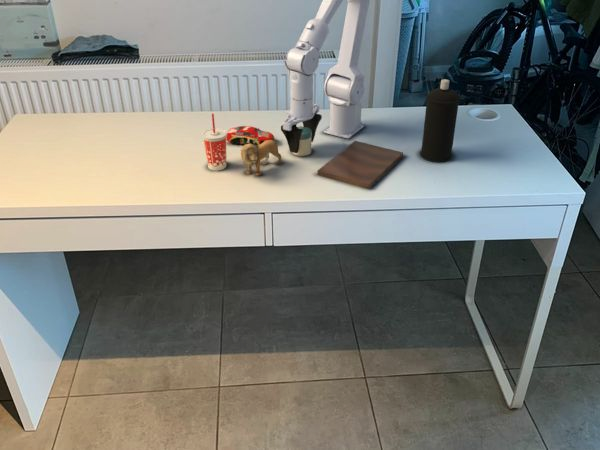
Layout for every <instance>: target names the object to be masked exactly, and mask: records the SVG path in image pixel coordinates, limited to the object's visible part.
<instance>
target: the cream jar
mask: <svg viewBox="0 0 600 450" xmlns="http://www.w3.org/2000/svg"><path fill="white" fill-rule="evenodd" d="M297 127H298V128H299V129H303V132H302V134H301V137H300V142H299V150H298V152H297V153H294V152H292V154H293V155H295V156H298V157H305V156H309V155H310V154H312V142H311V136H312V130H311V129H310V128H307V127H303V126H297Z"/></svg>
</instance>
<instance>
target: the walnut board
mask: <svg viewBox="0 0 600 450" xmlns="http://www.w3.org/2000/svg"><path fill="white" fill-rule="evenodd" d="M403 157H404V152H403V151H399V150H395V149H391V148H388V147H387V148H386V147H382V146H379V145H374V144H371V143H367V142H362V141H359V140H358V141H357V140H354V141H353V142H352V143H350V144H349V145H348V146H347V147H345V148H344V149H343V150H341V151H340V152H339V153H338V154H336V155H335V156H334V157H333V158H332V159H330V160H329V161H328V162H326V163H325V164H323V166H321V167H320V168H319V169H318V170H317V175H318V176H321V177H325V178H328V179H332V180H334V181H339V182H341V183H342V182H343V183H345V184H350V185H353V186H356V187H360V188H363V189H368V190H369V189H371V188H372V187H373V186H374V185H375V184H376V183H377V182H378V181H379V180H380V179H381V178H382V177H383V176H385V175H386V173H388V172H389V171H390V170H391V169H392V168H393V167H394V166H395V165H396V164H397V163H398V162H400V160H402V158H403Z"/></svg>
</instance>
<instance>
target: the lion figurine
mask: <svg viewBox="0 0 600 450" xmlns="http://www.w3.org/2000/svg"><path fill="white" fill-rule="evenodd" d="M270 154H271V155H272V156H273V157H276V158H277V160H276V164H282V155H281V153H280V152H279V147H278V144H277V142H276V140H275V141H273V140H266V141H264V142H263V143H262V144H260V145H254V144H250V143H249V144H243V146H242V147H241V149H240V157H241V160H242V162H243V164H244V165H246V167H247V170H246V172H245V173H246V174H247V175H250V174H251V173H252V171H253V169H252V168H253V166H255V176H257V177H258V176H261V175H262V174H261V164H262V165H266V164H267V163H268V161H269V159H270Z"/></svg>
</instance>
